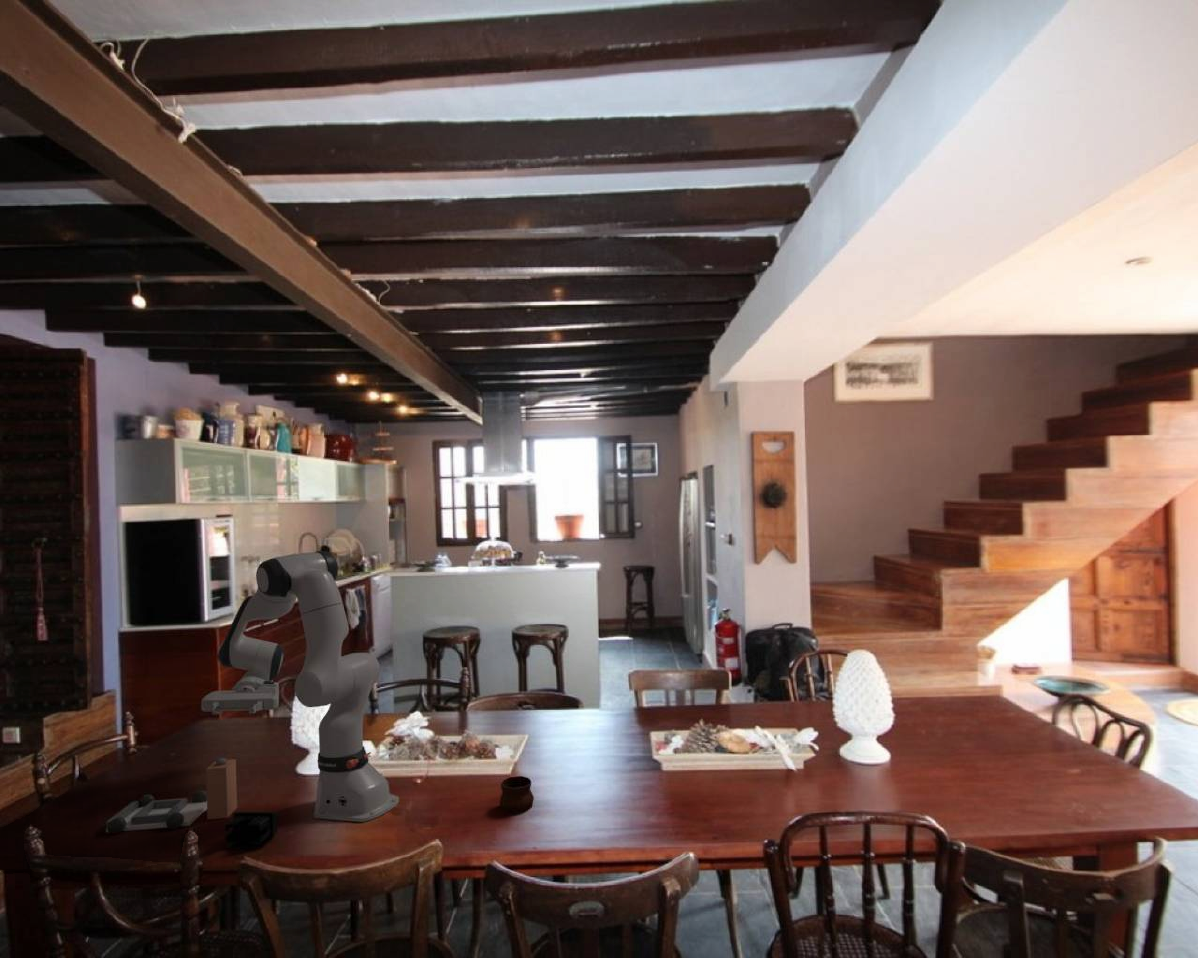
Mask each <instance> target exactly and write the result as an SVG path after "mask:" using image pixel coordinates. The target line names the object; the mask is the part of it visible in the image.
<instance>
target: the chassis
mask: <svg viewBox="0 0 1198 958" xmlns="http://www.w3.org/2000/svg"><path fill="white" fill-rule="evenodd" d="M205 811H207V790H204V789H203V790H197V791H196V793H195V794H193V796H192V798H191V802H188V797H183V798H171V799H157V800H155V797H154V796H153V795H152V794H145V795H143V796H142V797H140V798H139V799H138V800H135V801H134V800H133V801H131V802H130V803H129V804H128V805H127V806H125V807H123V808H122V809H121V810H119V812H117V813H116V814H114V815H113V816H112V817H110V818H109V819H108V820H106V822H105V833H109V834H111V835H118V834H120V833H121V832H128V831H130V832H131V831H137V830H138V831H140V830H152V829H164V828H165V829H166V828H168V829H169V830H177V829H179V828H180V827H186V826H188V827H189V826H190V825H192V824H193V822H195V821H196V820H197V819H198V818H199V817H200V816H202V814H203V813H204V812H205Z"/></svg>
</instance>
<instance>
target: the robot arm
mask: <svg viewBox="0 0 1198 958" xmlns="http://www.w3.org/2000/svg"><path fill="white" fill-rule="evenodd" d="M338 574H339V565H338V562H337V559H336V557H335V556H334V555H333V554H332V553H331V552H329V551H323V550H317V551H314V552H302V553H293V554H292V553H291V554H287V555H283V556H276V557H274V558H270V559H267V560H264V561H263V562H261V563H259V565H258V567H257V569H256V572H255V580H256V584H257V590H256V592H255V593H254V594H253V595H249V596H247V597H245V599H244V600H243V601H242V603H241V604H240V606H239V608H238V609H237V612H236V614H235V616H234V618H233V621H232V623H231V625H230V627H229V630H228V631H227V634H226V636H225V638H224V639H223V640H222V642H221V644H220V646H219V648H218V652H217V660H218V662H219V663H220V664H221V666H222V667H225V668H229V669H231V668H232V669H238V670H244V671H247V672H246V673H245V674H244V675H242V677H241V679H239V680H238V681H237V683H236V684H234V686H233V687H232V688H231V690H215V691H212V692H209V693H208V694H207V695H205V696H204V697H203V698H202V699H201V704H200V707H201V708H200V709H201V711H203V712H212V716H213V715H219V714H220V713H221V712H234V711H236V712H237V711H240V712H241V711H248V714H255V713H256V712H259V711H266V710H267V711H271V710H276V709H277V708H278V707H279V704H280V702H279V699H280V686H279V682H276V681H274V680H275V679H276V678H277V677H279V674H280V672H281V670H282V668H283V663H284V660H285V652H284V649H283V647H282V645H280V643H276V642H271V641H267V640H262V639H258V638H253V637H249V636H247V635H245V634H244V632H245V630H246V628H247V625H248V623H250V622H252V621H259V620H261V621H262V620H275V619H278V618H282V617H284V616H285V615H287V614H288V613H289V612H291V611H292V609H294V605H295V604H296V601H297V602H298V608H299V613H300V617H301V621H302V626H303V631H304V635H305V642H306V651H305V652H306V653H305V659H304V664H303V667H302V669H301V670H300V673H299V674H298V676H297V677H296V679H295V683H294V693H295V696H296V698H297V700H298V701H299V703H300V704H301V705H303V706H304V707H306V708H318V707H324V706H329V707H328V710H327V711H326V713H325V715H324V716H323V717H322V718H321V720H320V722H319V725H318V738H319V739H318V742H319V745H318V746H319V752H318V754H317V768H318V770H319V772H318V780H317V788H316V790H317V791H316V798H315V799H316V800H315V804H314V812H313V818H314V819H322V820H331V821H333V820H334V821H344V822H345V821H346V822H355V823H356V822H358V823H359V822H360V823H363V822H364V823H365V822H368V821H370V820H371V821H372V820H373V819H376V818H378V817H380V816H382V815H385V814H386V813H387V812H389V811H391V810H392V809H393V808H395V807H396V806H397V805H398V804H399V802H400V797H399V796H397V795H395V794H392V793H390V785H389V782H388V780H387V779H386V778H385V776H384V775H383V774H382V773H380V772H379V771H378V770H377V769H376V768H375V766H373V765H372V764H371V763H370V762H369V758H371V757H372V755H370V754H372V752H368V753H367V751H366V748H365V746H364V743H363V742H364V740H363V735H364V734H363V731H364V729H363V727H364V726H363V725H364V723H363V722H364V715H365V709H366V705H367V701H368V699H369V697H370V693H371V691H372V689H373V687H374V686H375V684H376V683H377V682H378V680H379V679H380V675H381V674H380V673H381V667H380V663H379V661H378V659H377V658H376V656H374V655H373V654H372V653H369V652H352V653H349V654H345V655H342V647H343V643H344V640H345V639H346V638H347V636H348V635H349V631H350V627H349V623H348V619H347V614H346V611H345V608H344V602H343V599H342V596H341V592H340V590H339V587H338V585H337V583H336V579H337V577H338Z"/></svg>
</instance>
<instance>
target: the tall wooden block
mask: <svg viewBox="0 0 1198 958" xmlns="http://www.w3.org/2000/svg"><path fill="white" fill-rule="evenodd" d="M236 759H237V758H234V759H233V758H232V759H227V758H226V757H220V758H217V759H216V760H215V761H214V762H213V763H212V764H210V765H209V766H208V767H207V768H206V769H205V774H206V775H205V779H206V783H205V784H206V792H207V801H206V802H207V809H206V812H207V813H206V816H207V820H216V819H218V820H219V819H228V818H229V817H230V816H231V815H232V813H233V812H235V811H236V809H238V796H237V793H238V791H237V760H236Z"/></svg>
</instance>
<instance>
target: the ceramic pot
mask: <svg viewBox="0 0 1198 958" xmlns="http://www.w3.org/2000/svg"><path fill="white" fill-rule="evenodd" d="M531 786H532V781H531V778H529V777H527V776H523V775H518V776H509V777H507V778H506V779H503V781H502V782H501V784H500V787H501V788H500V789H501V794H500V795H501V796H499V805H500V807H501V810H502V812H504V813H506V814H511V815H516V814H521V813H525V812H528V811H529V810H531V809H532V808H533V805H534V800H535V798H534V797H535V796H534V795H533V793H532V790H531ZM497 798H498V796H496V797H495V799H497Z"/></svg>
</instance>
